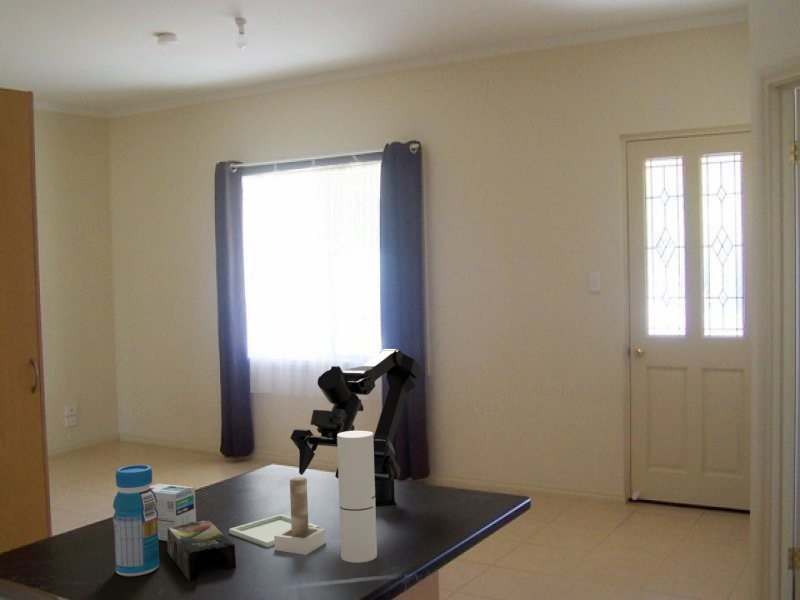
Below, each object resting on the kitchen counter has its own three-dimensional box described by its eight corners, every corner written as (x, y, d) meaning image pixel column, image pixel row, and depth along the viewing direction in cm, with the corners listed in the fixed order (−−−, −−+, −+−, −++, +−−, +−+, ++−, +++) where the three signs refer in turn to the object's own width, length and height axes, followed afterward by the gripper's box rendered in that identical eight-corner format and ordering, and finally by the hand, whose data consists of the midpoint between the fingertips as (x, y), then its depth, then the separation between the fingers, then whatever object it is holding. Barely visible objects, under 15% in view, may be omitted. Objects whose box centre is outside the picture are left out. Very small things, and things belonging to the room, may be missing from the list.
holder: (295, 541, 169) (294, 525, 169) (325, 545, 165) (325, 528, 165) (274, 552, 162) (274, 535, 162) (306, 557, 158) (305, 540, 158)
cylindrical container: (382, 554, 159) (378, 431, 158) (369, 566, 152) (365, 438, 152) (349, 551, 161) (345, 430, 161) (335, 563, 155) (331, 437, 154)
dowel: (308, 542, 166) (306, 476, 165) (309, 548, 162) (307, 480, 162) (291, 544, 165) (289, 477, 165) (292, 549, 161) (290, 482, 161)
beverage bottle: (116, 580, 149) (112, 475, 148) (113, 566, 157) (109, 466, 156) (162, 573, 152) (158, 470, 152) (157, 559, 160) (153, 461, 160)
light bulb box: (197, 534, 176) (196, 486, 175) (177, 543, 170) (175, 493, 169) (160, 528, 180) (158, 482, 180) (139, 538, 174) (137, 489, 174)
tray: (281, 520, 183) (281, 514, 183) (319, 533, 173) (319, 526, 173) (229, 536, 173) (229, 528, 173) (266, 550, 164) (266, 542, 163)
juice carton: (163, 551, 165) (163, 522, 165) (210, 543, 170) (209, 515, 170) (187, 584, 148) (186, 551, 147) (238, 574, 152) (237, 542, 152)
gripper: (293, 393, 179) (266, 452, 169) (365, 396, 171) (341, 458, 161) (313, 421, 186) (288, 479, 176) (383, 426, 178) (361, 486, 168)
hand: (318, 475), depth 170 cm, fingers open, 9 cm apart
